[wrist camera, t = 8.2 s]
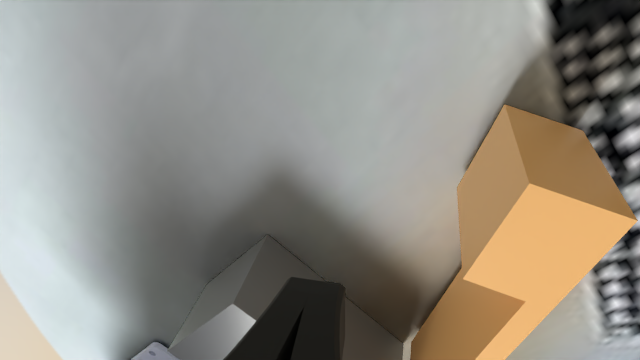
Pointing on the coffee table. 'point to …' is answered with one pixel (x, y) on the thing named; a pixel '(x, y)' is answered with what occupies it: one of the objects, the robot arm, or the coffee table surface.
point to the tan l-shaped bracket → (522, 236)
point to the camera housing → (254, 297)
